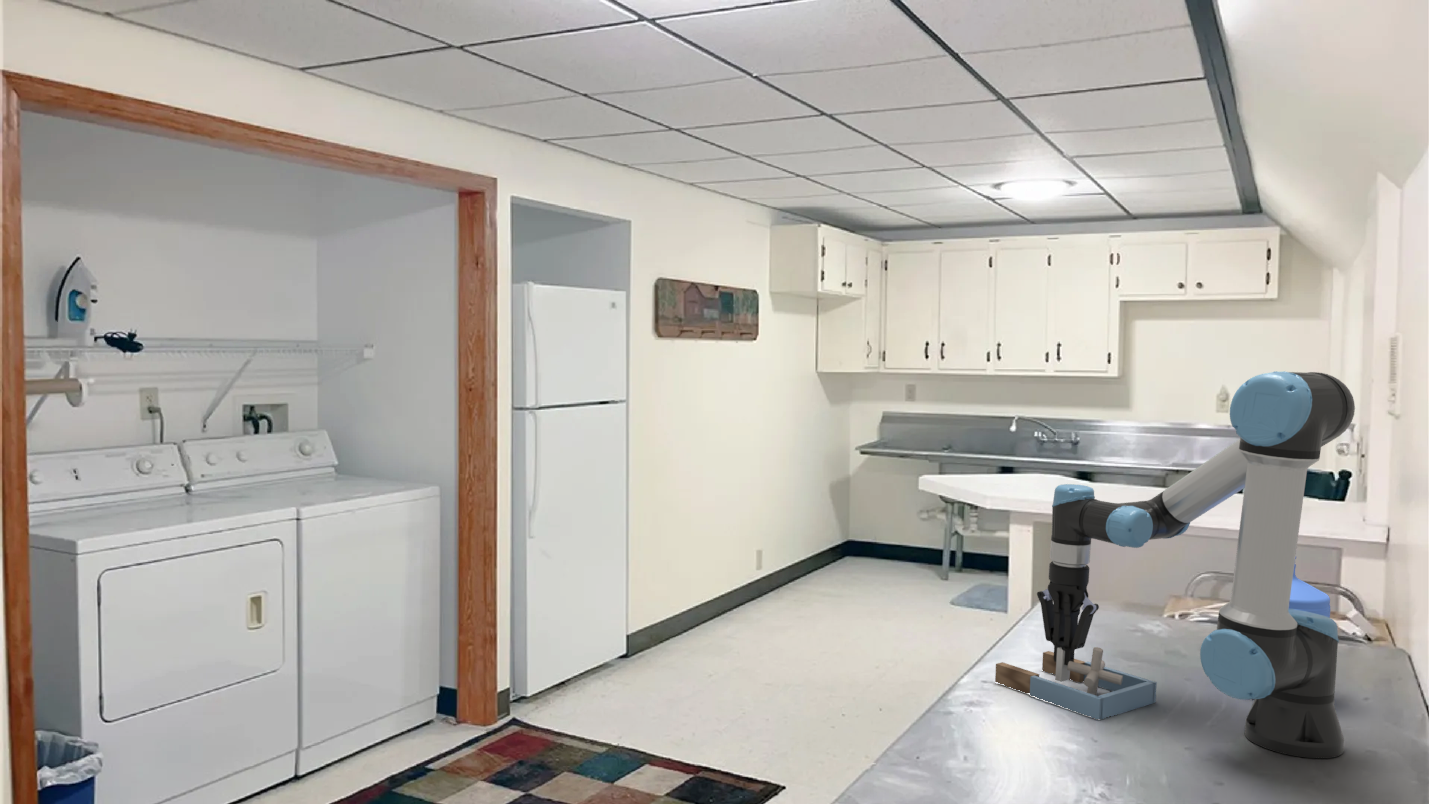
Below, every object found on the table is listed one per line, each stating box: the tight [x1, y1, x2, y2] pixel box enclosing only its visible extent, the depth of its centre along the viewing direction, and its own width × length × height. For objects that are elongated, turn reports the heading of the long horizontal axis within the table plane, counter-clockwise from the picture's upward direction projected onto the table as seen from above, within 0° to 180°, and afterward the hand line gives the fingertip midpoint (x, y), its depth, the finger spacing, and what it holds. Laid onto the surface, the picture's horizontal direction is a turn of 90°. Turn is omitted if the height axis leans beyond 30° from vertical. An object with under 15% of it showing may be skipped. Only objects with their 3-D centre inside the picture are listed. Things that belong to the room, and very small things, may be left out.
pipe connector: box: [1067, 646, 1123, 696], centre depth 202 cm, size 10×10×10 cm
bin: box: [1029, 661, 1158, 720], centre depth 201 cm, size 15×18×4 cm
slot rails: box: [994, 650, 1086, 694], centre depth 211 cm, size 9×17×4 cm, turn 125°
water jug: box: [1289, 556, 1331, 618], centre depth 206 cm, size 16×16×28 cm
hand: (1062, 679), depth 207 cm, fingers closed
